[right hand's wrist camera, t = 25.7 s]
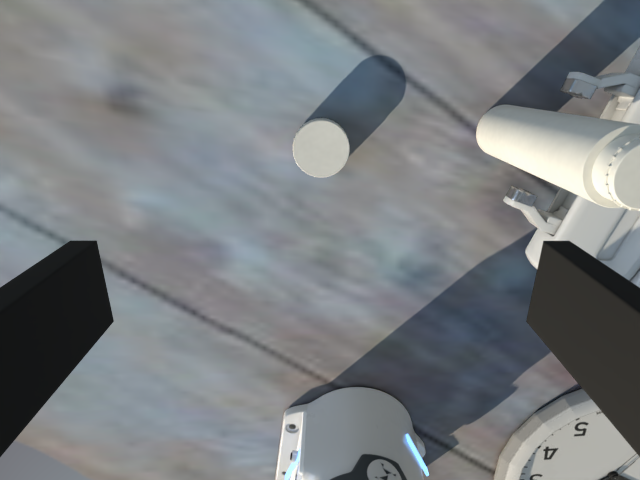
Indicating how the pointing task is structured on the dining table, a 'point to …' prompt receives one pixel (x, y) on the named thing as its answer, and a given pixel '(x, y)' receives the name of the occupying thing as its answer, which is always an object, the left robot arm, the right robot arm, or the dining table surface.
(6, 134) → the dining table surface
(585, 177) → the white plastic cylinder
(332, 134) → the lid
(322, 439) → the left robot arm
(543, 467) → the wall clock
